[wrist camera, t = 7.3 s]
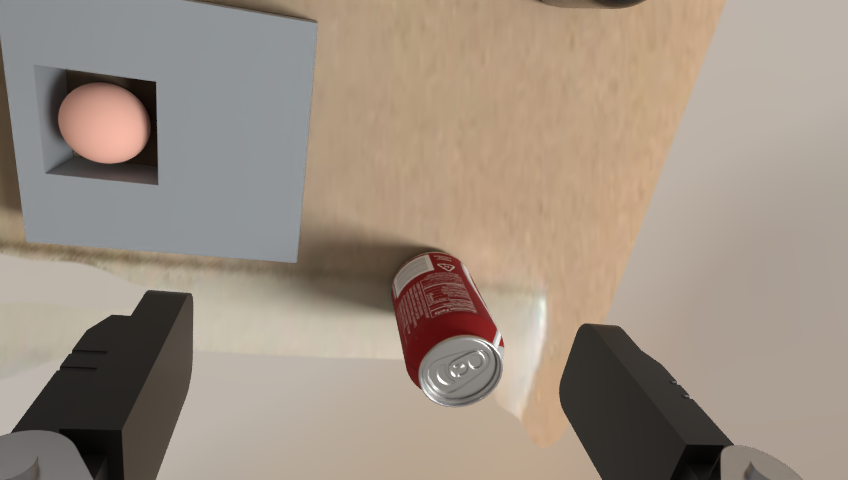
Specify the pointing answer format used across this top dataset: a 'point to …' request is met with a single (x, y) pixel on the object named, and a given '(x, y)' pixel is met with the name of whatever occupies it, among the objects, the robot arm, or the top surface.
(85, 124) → the ball
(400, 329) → the soda can
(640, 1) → the supplement bottle
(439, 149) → the top surface
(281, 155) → the grey block with recess
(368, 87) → the top surface
